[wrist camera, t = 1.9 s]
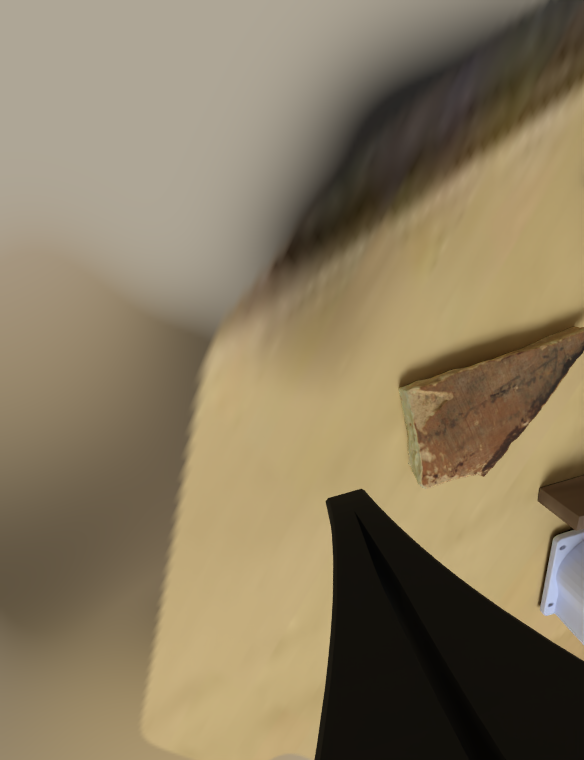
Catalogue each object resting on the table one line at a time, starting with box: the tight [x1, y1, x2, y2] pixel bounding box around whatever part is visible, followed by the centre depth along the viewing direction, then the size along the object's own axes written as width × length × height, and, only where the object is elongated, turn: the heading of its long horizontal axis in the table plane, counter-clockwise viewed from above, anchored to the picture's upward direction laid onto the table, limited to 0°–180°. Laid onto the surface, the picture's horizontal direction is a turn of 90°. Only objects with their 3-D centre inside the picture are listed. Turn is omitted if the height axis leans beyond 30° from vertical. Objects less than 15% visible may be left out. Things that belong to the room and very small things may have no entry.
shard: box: [399, 327, 584, 488], centre depth 16 cm, size 11×8×2 cm
